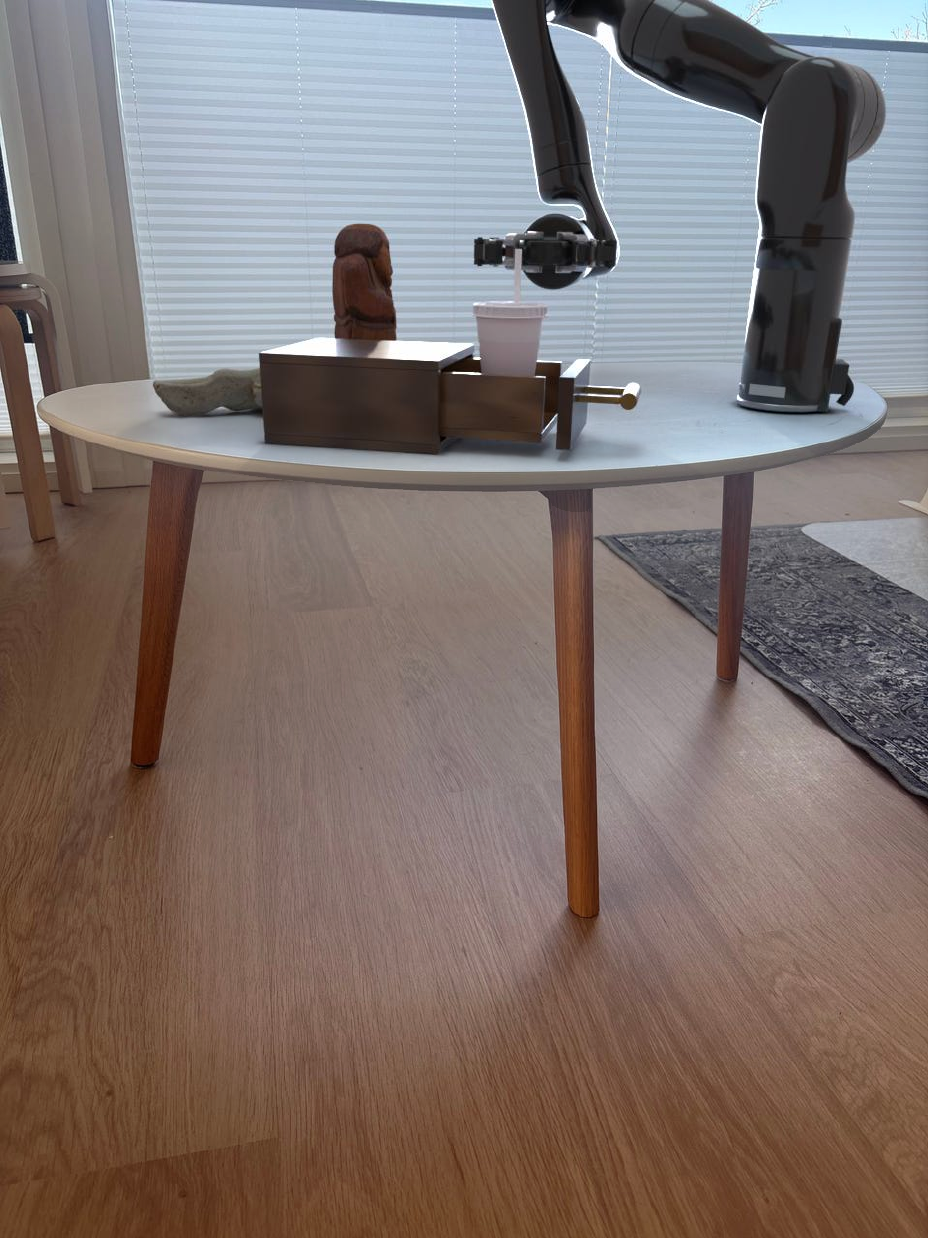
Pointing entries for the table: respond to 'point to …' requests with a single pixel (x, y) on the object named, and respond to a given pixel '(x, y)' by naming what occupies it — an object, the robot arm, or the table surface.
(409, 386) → the cabinet
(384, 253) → the wooden figurine
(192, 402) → the sculpture
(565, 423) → the drawer
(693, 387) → the table surface
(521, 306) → the smoothie
